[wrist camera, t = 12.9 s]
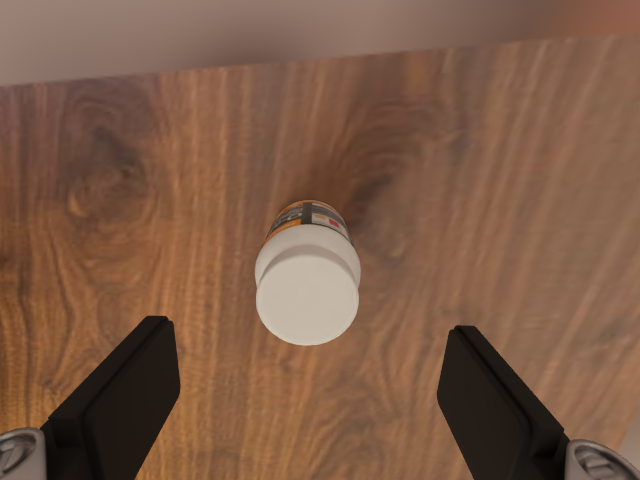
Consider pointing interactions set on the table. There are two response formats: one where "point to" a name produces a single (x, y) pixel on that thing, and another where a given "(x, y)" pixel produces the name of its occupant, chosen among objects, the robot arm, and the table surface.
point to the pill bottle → (307, 275)
